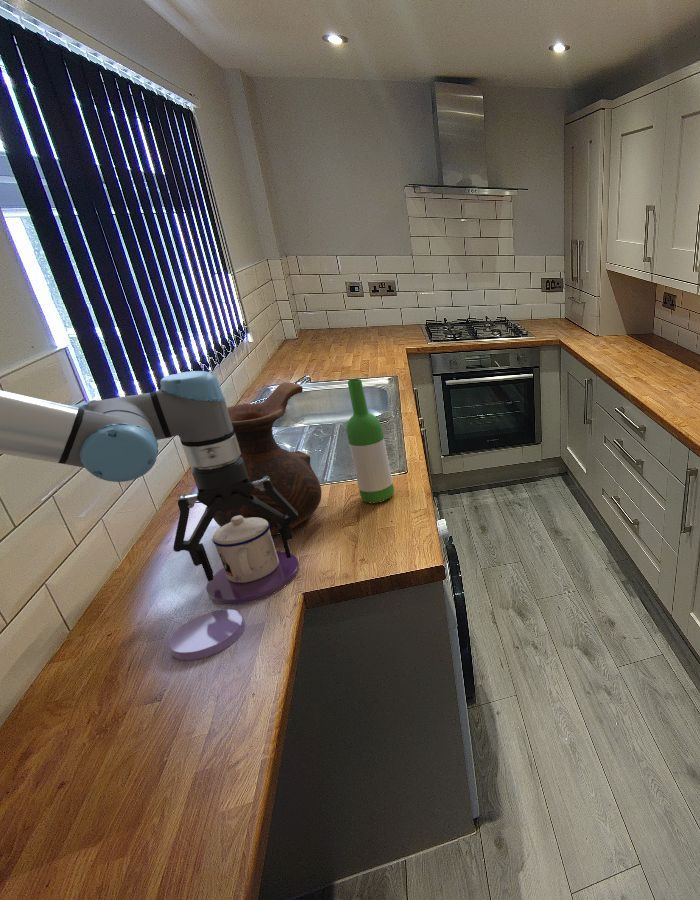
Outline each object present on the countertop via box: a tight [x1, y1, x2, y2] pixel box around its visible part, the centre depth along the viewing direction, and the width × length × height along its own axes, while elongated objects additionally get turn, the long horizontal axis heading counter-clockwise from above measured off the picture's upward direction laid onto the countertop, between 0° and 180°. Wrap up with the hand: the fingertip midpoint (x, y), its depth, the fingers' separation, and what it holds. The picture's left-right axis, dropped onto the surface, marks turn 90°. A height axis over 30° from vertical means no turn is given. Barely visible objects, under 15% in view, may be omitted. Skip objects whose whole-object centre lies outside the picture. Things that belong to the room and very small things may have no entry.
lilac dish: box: [168, 608, 246, 661], centre depth 86 cm, size 10×10×2 cm
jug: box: [213, 381, 322, 536], centre depth 114 cm, size 22×22×30 cm
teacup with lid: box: [211, 515, 279, 583], centre depth 98 cm, size 12×9×12 cm
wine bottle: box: [345, 378, 395, 504], centre depth 124 cm, size 8×8×30 cm
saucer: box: [206, 550, 300, 606], centre depth 100 cm, size 15×15×1 cm
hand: (250, 565), depth 99 cm, fingers open, 12 cm apart
